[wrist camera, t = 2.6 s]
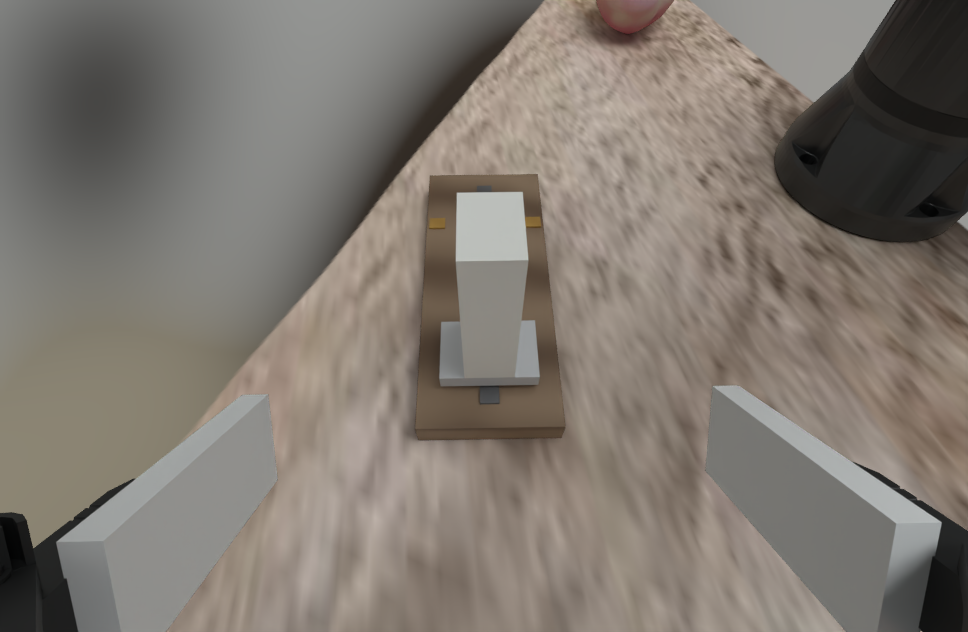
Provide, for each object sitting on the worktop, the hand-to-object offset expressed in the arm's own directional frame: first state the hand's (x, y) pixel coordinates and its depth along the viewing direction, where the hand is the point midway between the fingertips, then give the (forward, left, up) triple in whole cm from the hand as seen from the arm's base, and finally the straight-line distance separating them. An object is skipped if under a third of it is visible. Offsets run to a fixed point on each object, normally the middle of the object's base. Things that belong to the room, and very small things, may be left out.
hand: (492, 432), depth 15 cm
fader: (-8, -6, -14) cm, 17 cm away
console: (-13, -10, -16) cm, 23 cm away
